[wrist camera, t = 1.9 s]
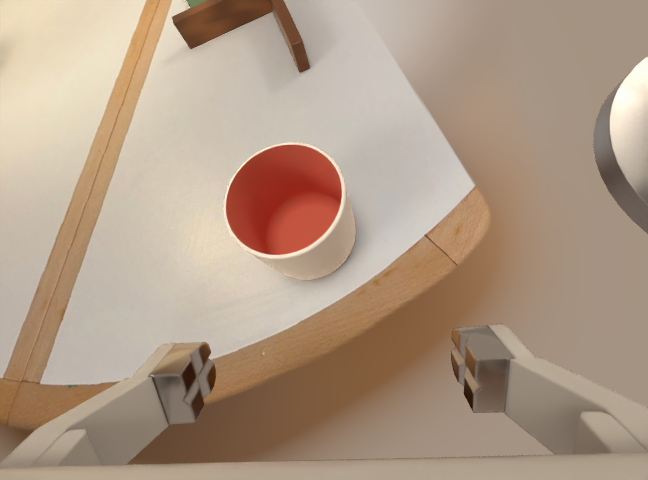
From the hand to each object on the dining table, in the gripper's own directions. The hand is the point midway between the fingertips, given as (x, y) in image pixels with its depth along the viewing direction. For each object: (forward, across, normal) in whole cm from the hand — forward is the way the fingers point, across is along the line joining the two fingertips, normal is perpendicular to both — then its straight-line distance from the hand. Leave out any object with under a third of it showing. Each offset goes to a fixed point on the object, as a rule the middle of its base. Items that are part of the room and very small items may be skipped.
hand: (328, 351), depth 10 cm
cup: (+23, +3, +3) cm, 23 cm away
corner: (+40, +12, -20) cm, 46 cm away
